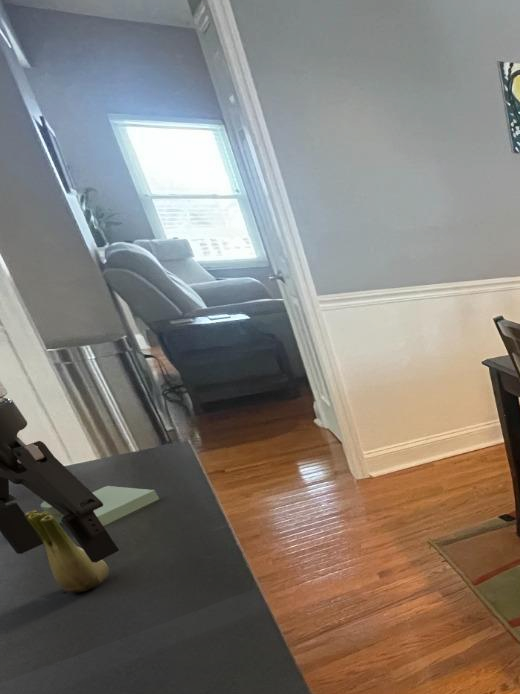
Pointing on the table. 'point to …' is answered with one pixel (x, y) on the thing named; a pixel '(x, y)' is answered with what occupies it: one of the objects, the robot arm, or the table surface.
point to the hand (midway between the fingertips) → (68, 552)
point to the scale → (113, 503)
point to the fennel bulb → (66, 556)
